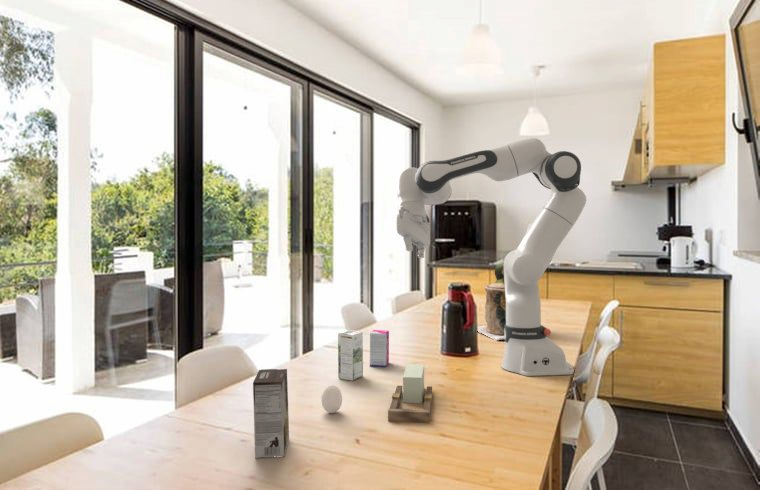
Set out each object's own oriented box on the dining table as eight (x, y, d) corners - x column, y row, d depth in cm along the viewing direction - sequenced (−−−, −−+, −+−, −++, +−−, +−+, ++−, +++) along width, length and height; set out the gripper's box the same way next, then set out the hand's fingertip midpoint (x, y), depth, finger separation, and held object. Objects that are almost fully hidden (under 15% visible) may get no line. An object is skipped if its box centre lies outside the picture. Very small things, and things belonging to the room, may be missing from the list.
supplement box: (386, 367, 164) (386, 333, 163) (369, 366, 165) (368, 333, 164) (389, 362, 169) (389, 329, 169) (373, 361, 171) (372, 329, 170)
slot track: (432, 393, 137) (432, 384, 137) (429, 422, 117) (429, 412, 117) (396, 392, 139) (396, 383, 139) (387, 421, 118) (387, 410, 118)
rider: (424, 388, 142) (423, 364, 142) (421, 403, 130) (421, 377, 130) (407, 388, 143) (406, 364, 142) (403, 402, 131) (402, 377, 131)
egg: (319, 410, 126) (319, 382, 126) (339, 407, 128) (338, 380, 128) (324, 418, 121) (323, 388, 121) (344, 414, 123) (344, 386, 123)
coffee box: (260, 440, 109) (258, 369, 109) (289, 438, 110) (288, 367, 109) (253, 459, 100) (251, 382, 99) (285, 457, 101) (283, 380, 100)
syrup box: (348, 373, 157) (347, 329, 157) (363, 376, 154) (362, 331, 154) (338, 378, 152) (337, 332, 152) (353, 381, 149) (352, 334, 149)
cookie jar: (469, 330, 220) (468, 259, 218) (516, 325, 227) (515, 257, 226) (498, 342, 196) (497, 263, 195) (549, 337, 203) (549, 260, 202)
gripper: (408, 202, 152) (411, 244, 147) (431, 221, 169) (435, 259, 165) (390, 206, 154) (393, 248, 150) (415, 225, 172) (418, 263, 167)
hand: (415, 254), depth 157 cm, fingers open, 8 cm apart
